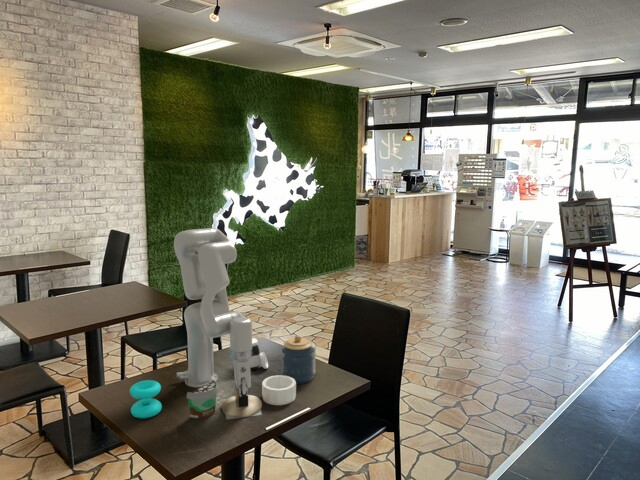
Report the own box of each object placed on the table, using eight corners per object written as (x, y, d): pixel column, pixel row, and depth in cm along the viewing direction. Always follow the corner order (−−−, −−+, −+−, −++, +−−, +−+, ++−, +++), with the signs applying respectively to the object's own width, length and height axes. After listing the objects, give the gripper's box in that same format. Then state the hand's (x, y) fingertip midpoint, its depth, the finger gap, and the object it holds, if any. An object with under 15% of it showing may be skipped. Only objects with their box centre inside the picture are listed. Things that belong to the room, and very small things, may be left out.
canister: (310, 385, 186) (310, 342, 183) (277, 382, 188) (277, 340, 185) (316, 371, 198) (316, 331, 196) (285, 369, 201) (285, 328, 198)
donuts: (164, 386, 162) (134, 394, 156) (165, 414, 164) (135, 423, 158) (155, 376, 170) (126, 383, 164) (156, 402, 172) (127, 410, 166)
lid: (223, 419, 160) (222, 400, 159) (220, 399, 173) (219, 381, 172) (264, 414, 164) (264, 395, 163) (258, 395, 177) (258, 377, 176)
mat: (226, 420, 160) (226, 419, 160) (223, 400, 174) (223, 399, 173) (262, 415, 163) (262, 414, 163) (256, 396, 177) (256, 395, 177)
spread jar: (237, 364, 205) (236, 338, 203) (262, 359, 210) (262, 334, 208) (246, 375, 194) (245, 348, 193) (272, 370, 200) (272, 343, 198)
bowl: (265, 407, 169) (265, 391, 168) (260, 392, 180) (260, 377, 179) (298, 403, 172) (298, 388, 171) (291, 388, 183) (291, 373, 182)
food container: (200, 426, 157) (199, 397, 155) (187, 420, 160) (186, 392, 158) (226, 410, 167) (225, 383, 165) (213, 405, 170) (212, 378, 169)
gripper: (255, 362, 158) (256, 410, 161) (248, 343, 174) (249, 387, 177) (232, 364, 156) (233, 413, 159) (228, 345, 172) (228, 389, 175)
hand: (241, 399), depth 168 cm, fingers open, 9 cm apart
